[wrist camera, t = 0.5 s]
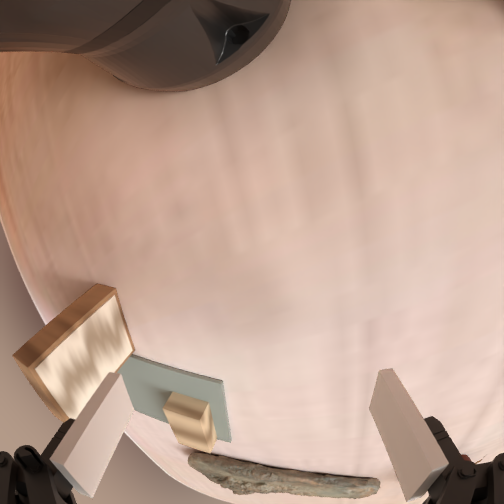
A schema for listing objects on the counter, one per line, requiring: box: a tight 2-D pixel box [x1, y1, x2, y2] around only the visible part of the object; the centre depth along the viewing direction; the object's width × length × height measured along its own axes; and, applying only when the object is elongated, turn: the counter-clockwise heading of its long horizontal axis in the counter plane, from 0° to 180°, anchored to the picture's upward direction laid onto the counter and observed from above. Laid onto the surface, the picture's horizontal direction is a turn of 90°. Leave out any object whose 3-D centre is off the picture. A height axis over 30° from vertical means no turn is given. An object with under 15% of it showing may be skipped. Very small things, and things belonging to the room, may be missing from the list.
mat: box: [117, 354, 231, 443], centre depth 34 cm, size 15×20×1 cm
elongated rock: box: [188, 452, 380, 499], centre depth 36 cm, size 35×5×10 cm
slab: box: [13, 284, 135, 422], centre depth 24 cm, size 9×3×14 cm, turn 1°
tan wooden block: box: [163, 392, 217, 453], centre depth 32 cm, size 10×5×3 cm, turn 1°
